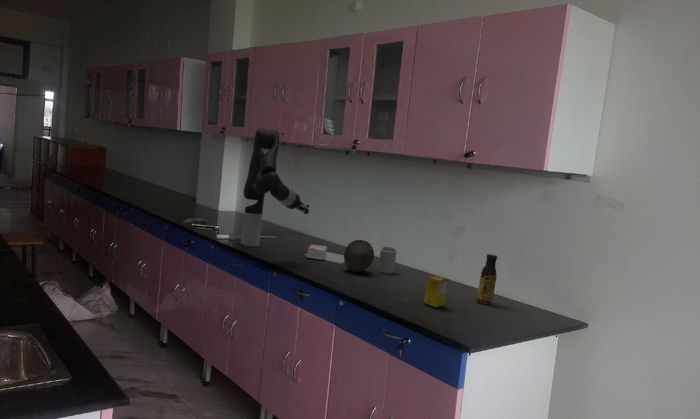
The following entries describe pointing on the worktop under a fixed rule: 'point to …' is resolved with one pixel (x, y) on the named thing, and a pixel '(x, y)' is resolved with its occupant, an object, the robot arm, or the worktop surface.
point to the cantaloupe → (358, 255)
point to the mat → (333, 258)
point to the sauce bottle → (487, 281)
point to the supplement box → (435, 291)
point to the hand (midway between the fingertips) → (306, 212)
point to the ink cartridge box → (317, 252)
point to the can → (387, 260)
